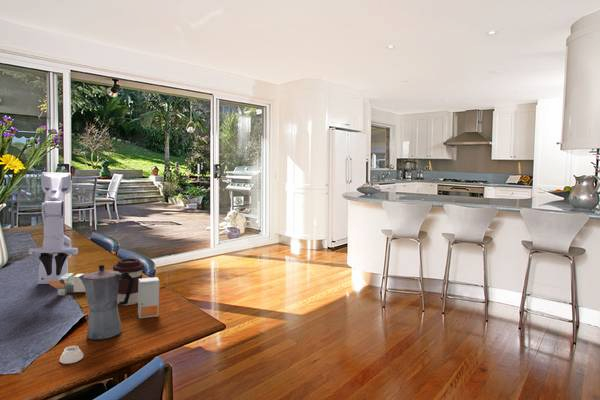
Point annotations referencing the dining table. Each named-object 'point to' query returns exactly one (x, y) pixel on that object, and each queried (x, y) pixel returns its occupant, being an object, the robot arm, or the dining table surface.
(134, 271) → the coffee cup
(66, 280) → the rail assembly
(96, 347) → the dining table surface
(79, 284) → the carriage
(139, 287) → the skincare box
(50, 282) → the lever
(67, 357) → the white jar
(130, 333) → the dining table surface
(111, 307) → the moka pot
